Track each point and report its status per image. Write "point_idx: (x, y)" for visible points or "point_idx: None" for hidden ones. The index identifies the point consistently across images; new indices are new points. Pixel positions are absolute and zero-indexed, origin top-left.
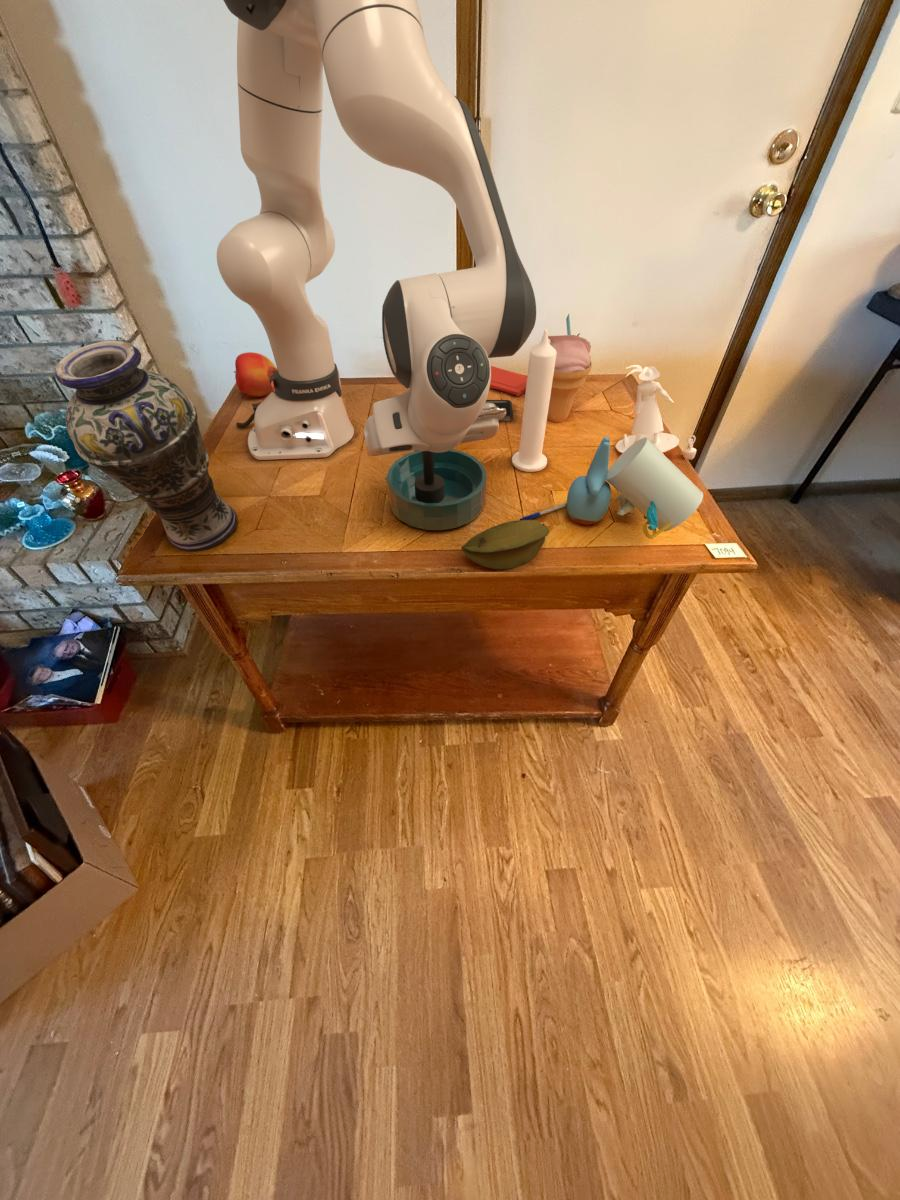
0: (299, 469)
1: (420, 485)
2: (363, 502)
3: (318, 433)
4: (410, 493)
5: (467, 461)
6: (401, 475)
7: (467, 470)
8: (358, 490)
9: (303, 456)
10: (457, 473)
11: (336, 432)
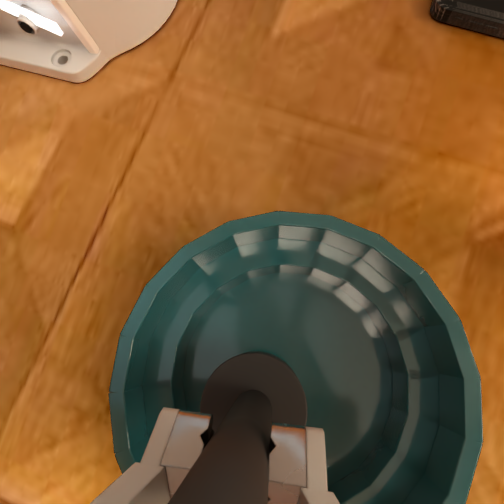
0: (8, 109)
1: (217, 416)
2: (100, 295)
3: (51, 13)
4: (221, 318)
5: (428, 314)
6: (203, 274)
7: (414, 326)
8: (106, 240)
9: (27, 67)
10: (377, 315)
11: (106, 14)
